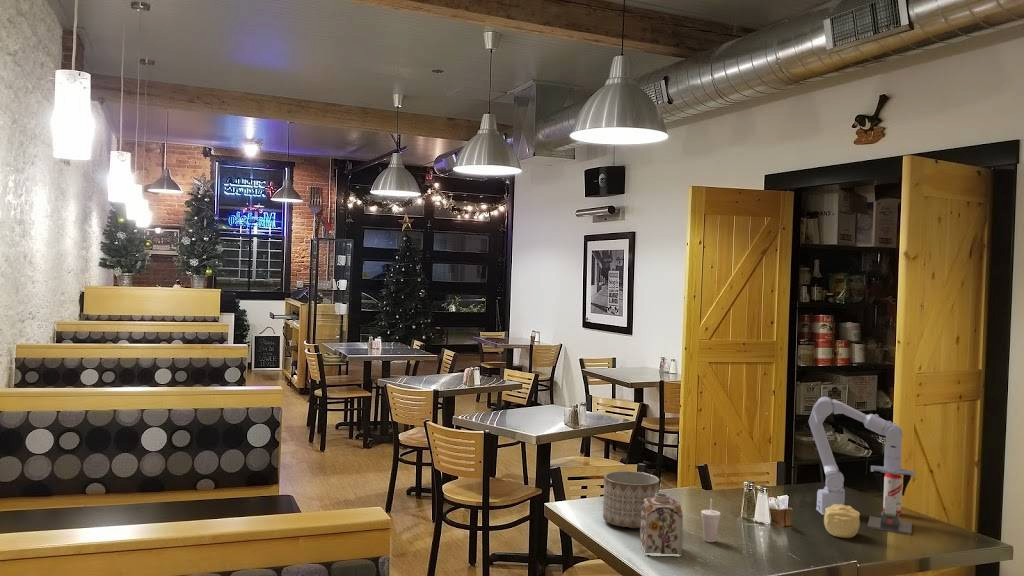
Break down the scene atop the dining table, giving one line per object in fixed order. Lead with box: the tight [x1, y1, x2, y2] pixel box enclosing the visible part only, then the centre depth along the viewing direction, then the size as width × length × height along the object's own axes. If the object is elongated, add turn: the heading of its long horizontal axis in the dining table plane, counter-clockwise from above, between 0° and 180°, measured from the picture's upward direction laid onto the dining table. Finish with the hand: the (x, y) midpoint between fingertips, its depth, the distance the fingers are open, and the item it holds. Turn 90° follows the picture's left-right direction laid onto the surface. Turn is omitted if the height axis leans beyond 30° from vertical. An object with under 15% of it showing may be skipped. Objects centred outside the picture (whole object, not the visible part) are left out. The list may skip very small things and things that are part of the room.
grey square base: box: [867, 510, 913, 536], centre depth 279 cm, size 14×14×4 cm
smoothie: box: [700, 498, 721, 541], centre depth 256 cm, size 6×6×14 cm
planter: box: [602, 470, 660, 529], centre depth 272 cm, size 19×19×16 cm
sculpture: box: [823, 504, 861, 539], centre depth 267 cm, size 12×12×11 cm
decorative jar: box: [639, 492, 684, 555], centre depth 245 cm, size 12×12×18 cm
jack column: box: [884, 496, 896, 517], centre depth 279 cm, size 4×4×7 cm
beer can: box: [882, 473, 903, 515], centre depth 295 cm, size 6×6×16 cm
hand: (891, 493), depth 285 cm, fingers open, 7 cm apart
